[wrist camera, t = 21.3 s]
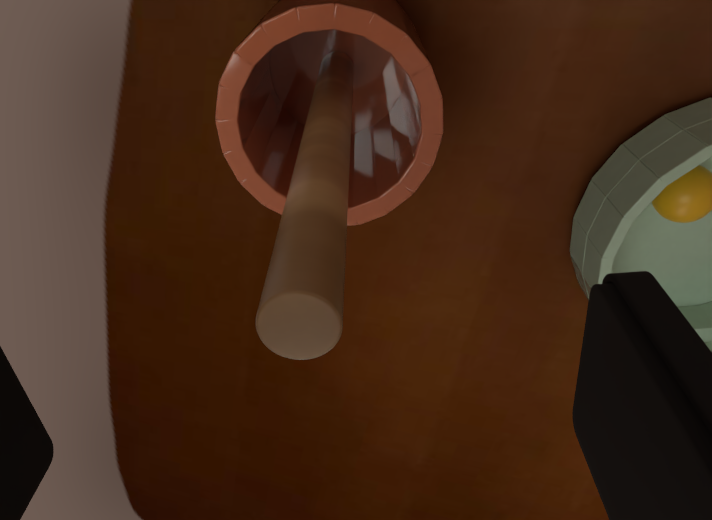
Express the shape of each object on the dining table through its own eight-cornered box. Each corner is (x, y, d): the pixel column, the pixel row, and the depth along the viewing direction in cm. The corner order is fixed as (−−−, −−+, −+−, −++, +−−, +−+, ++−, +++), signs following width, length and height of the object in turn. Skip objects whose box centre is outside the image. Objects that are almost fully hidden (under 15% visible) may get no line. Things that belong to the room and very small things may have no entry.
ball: (732, 194, 27) (721, 228, 29) (713, 144, 28) (704, 181, 31) (660, 205, 28) (655, 238, 30) (646, 157, 29) (642, 192, 32)
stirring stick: (317, 53, 27) (245, 297, 10) (351, 48, 27) (334, 286, 10) (323, 87, 28) (266, 365, 11) (356, 82, 28) (349, 356, 11)
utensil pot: (240, -15, 26) (191, 17, 19) (417, -33, 26) (441, -9, 18) (270, 152, 30) (240, 235, 23) (423, 139, 30) (445, 218, 22)
